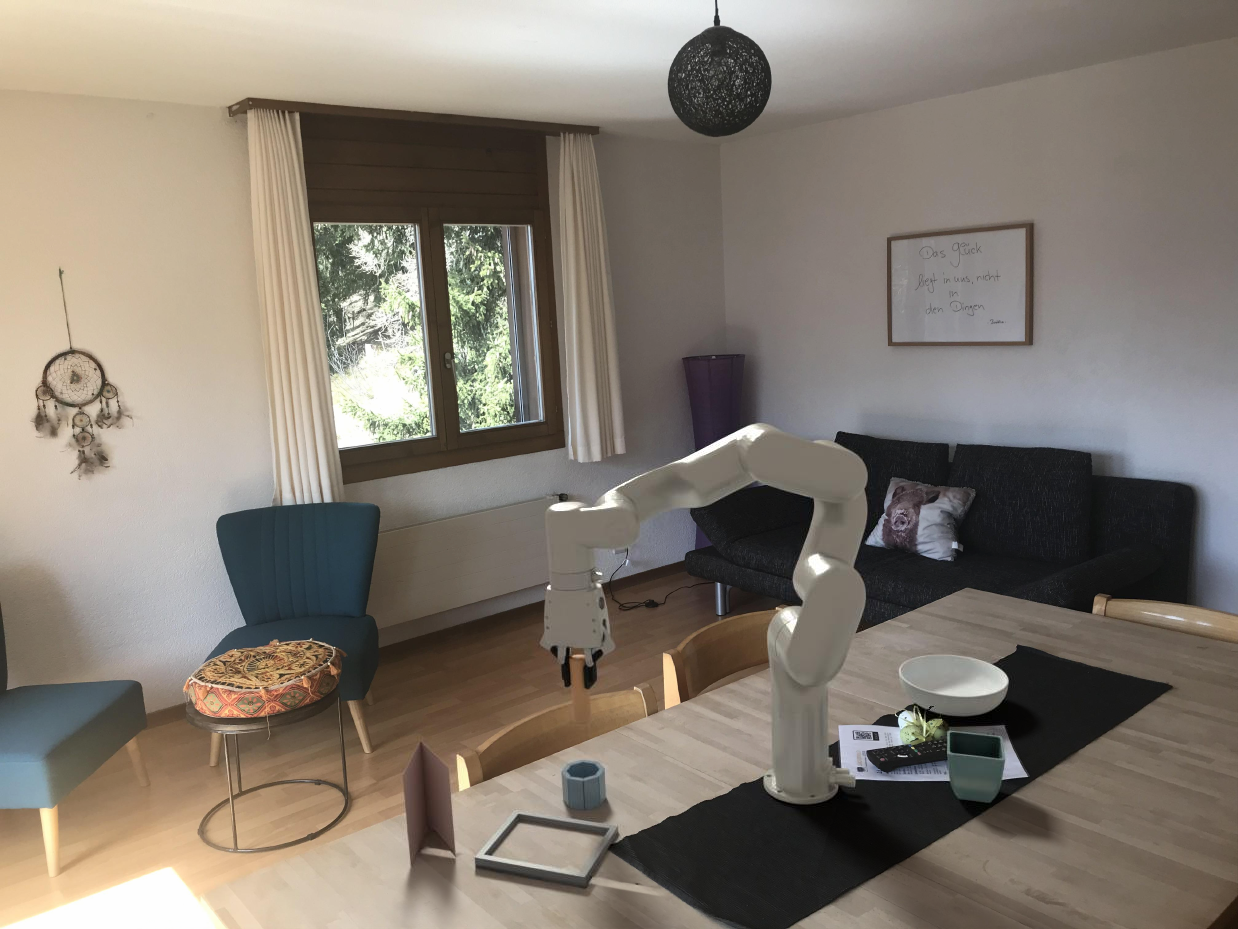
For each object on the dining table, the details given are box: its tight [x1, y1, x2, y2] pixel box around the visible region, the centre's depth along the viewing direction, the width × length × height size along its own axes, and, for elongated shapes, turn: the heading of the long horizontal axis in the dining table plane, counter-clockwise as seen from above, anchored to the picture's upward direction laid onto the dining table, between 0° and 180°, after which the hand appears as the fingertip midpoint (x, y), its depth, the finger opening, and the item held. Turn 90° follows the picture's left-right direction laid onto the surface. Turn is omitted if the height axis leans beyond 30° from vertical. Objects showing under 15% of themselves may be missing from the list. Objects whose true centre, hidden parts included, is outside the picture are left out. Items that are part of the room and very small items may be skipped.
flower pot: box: [946, 730, 1006, 804], centre depth 157 cm, size 9×9×9 cm
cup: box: [561, 759, 607, 811], centre depth 160 cm, size 7×7×6 cm
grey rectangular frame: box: [474, 809, 619, 889], centre depth 146 cm, size 18×14×2 cm
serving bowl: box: [898, 654, 1010, 717], centre depth 191 cm, size 21×21×7 cm
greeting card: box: [401, 739, 457, 866], centre depth 149 cm, size 11×7×15 cm, turn 178°
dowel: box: [569, 654, 592, 725], centre depth 157 cm, size 3×3×11 cm
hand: (579, 684), depth 157 cm, fingers closed on dowel, 3 cm apart
